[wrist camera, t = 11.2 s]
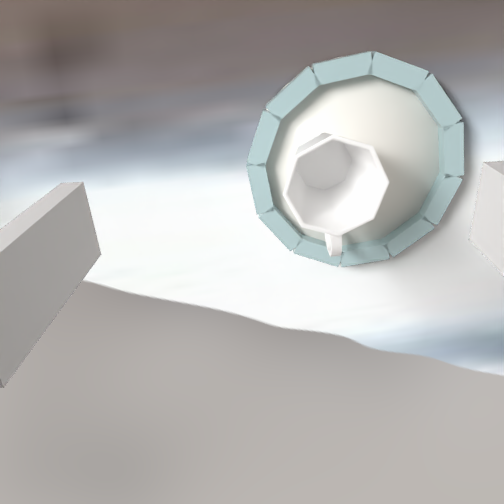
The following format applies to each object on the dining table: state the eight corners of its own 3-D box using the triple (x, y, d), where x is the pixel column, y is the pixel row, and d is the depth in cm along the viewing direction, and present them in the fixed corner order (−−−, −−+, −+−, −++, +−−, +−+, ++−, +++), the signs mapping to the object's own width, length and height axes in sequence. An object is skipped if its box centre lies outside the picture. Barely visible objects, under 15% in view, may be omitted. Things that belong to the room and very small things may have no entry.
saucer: (290, 22, 33) (292, 20, 31) (493, 97, 34) (506, 100, 33) (226, 223, 40) (224, 231, 38) (397, 276, 42) (403, 287, 40)
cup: (363, 109, 34) (389, 127, 27) (366, 227, 39) (389, 269, 31) (274, 121, 35) (277, 142, 28) (287, 235, 39) (291, 279, 32)
